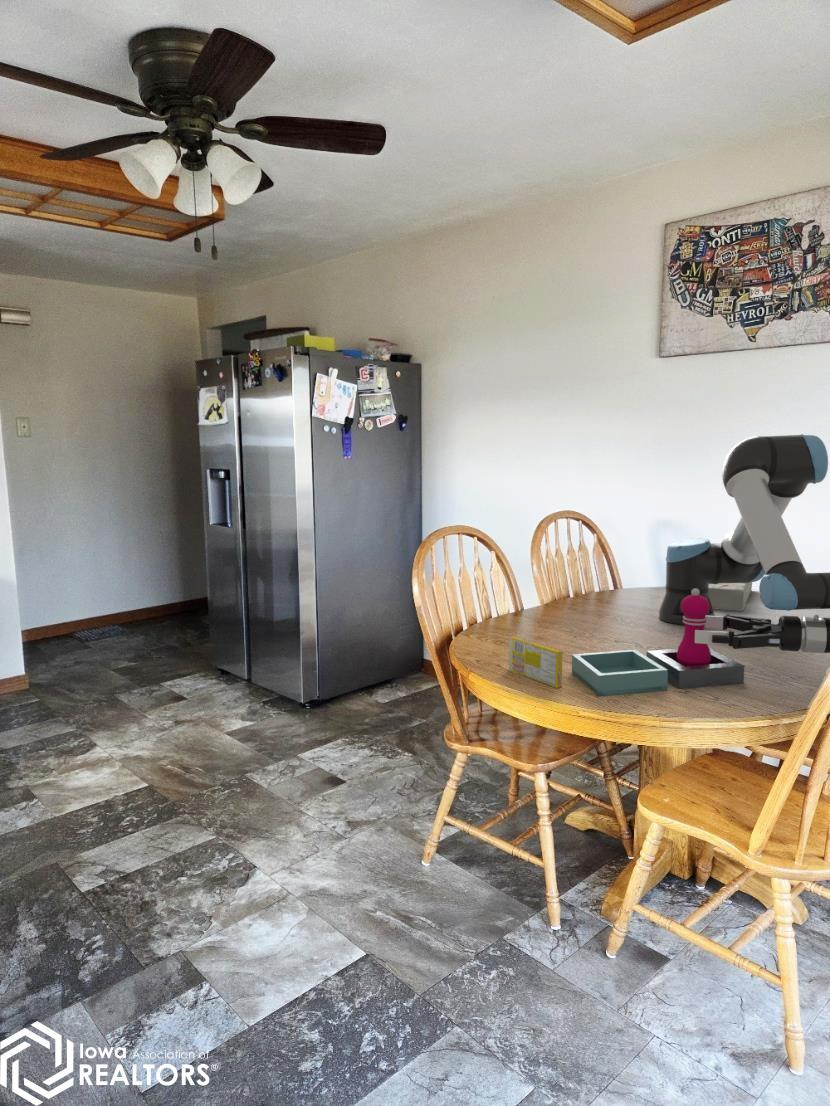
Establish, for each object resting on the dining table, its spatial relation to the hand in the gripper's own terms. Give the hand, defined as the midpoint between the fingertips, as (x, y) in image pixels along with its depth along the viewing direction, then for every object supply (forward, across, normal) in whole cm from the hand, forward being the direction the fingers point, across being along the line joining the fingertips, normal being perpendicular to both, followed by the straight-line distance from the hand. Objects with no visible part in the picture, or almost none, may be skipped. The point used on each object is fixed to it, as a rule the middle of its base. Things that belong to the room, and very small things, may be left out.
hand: (693, 628), depth 159 cm
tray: (+16, +8, +11) cm, 21 cm away
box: (-8, -83, +12) cm, 84 cm away
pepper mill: (0, 0, +11) cm, 11 cm away
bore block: (0, 0, +11) cm, 11 cm away
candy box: (+34, +10, +11) cm, 37 cm away
